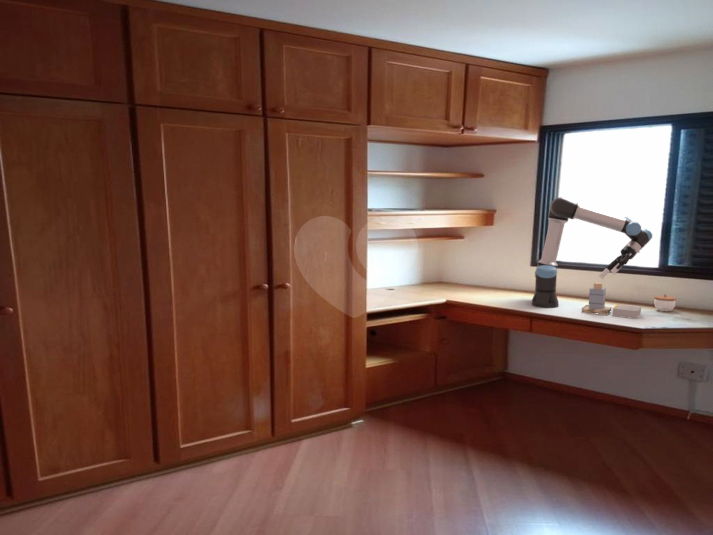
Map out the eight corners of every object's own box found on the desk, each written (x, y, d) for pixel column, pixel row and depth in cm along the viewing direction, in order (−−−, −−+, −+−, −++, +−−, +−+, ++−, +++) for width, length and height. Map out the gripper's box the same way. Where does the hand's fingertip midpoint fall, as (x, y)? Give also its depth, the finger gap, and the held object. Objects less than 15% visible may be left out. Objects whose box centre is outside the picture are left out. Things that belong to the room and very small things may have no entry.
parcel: (594, 288, 284) (594, 283, 283) (593, 287, 287) (593, 282, 287) (602, 289, 282) (602, 283, 282) (601, 288, 286) (601, 282, 286)
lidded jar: (663, 313, 283) (664, 296, 282) (648, 309, 293) (649, 293, 292) (679, 312, 285) (681, 295, 284) (664, 308, 295) (666, 292, 294)
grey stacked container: (588, 308, 285) (589, 288, 284) (590, 305, 291) (592, 286, 290) (602, 309, 281) (603, 289, 280) (604, 307, 287) (605, 288, 286)
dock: (612, 315, 277) (612, 308, 276) (616, 311, 288) (616, 304, 287) (637, 318, 270) (637, 310, 269) (640, 313, 281) (641, 306, 281)
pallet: (581, 312, 285) (581, 308, 285) (586, 308, 296) (586, 304, 295) (607, 315, 278) (607, 311, 277) (611, 311, 288) (611, 307, 288)
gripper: (647, 249, 283) (622, 275, 279) (623, 259, 307) (600, 283, 304) (637, 240, 284) (612, 265, 280) (614, 250, 308) (591, 274, 305)
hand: (606, 275), depth 292 cm, fingers open, 13 cm apart
